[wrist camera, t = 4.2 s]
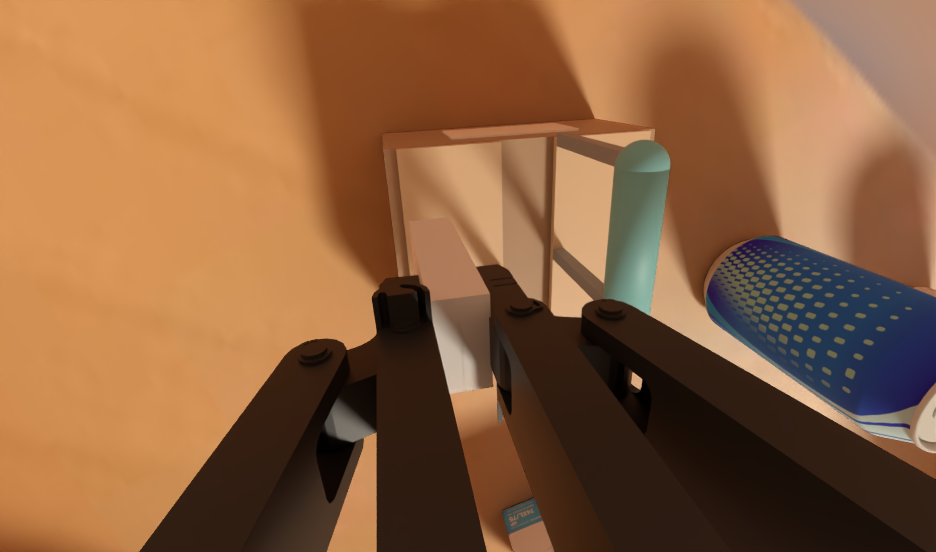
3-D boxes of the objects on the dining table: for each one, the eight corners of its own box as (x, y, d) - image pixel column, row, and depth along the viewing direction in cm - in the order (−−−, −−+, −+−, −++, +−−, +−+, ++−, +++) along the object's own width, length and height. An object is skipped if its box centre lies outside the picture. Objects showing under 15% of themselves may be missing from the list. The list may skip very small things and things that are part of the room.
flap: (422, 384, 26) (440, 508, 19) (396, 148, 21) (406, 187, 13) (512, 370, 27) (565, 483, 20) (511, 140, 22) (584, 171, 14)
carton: (404, 317, 32) (410, 374, 26) (381, 131, 27) (382, 146, 21) (583, 294, 34) (629, 341, 28) (595, 117, 29) (655, 126, 23)
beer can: (747, 210, 34) (1015, 304, 20) (804, 261, 37) (1071, 374, 23) (675, 295, 36) (871, 436, 22) (735, 337, 39) (941, 484, 25)
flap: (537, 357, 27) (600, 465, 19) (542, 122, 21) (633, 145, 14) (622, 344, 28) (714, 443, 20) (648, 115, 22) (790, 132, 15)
